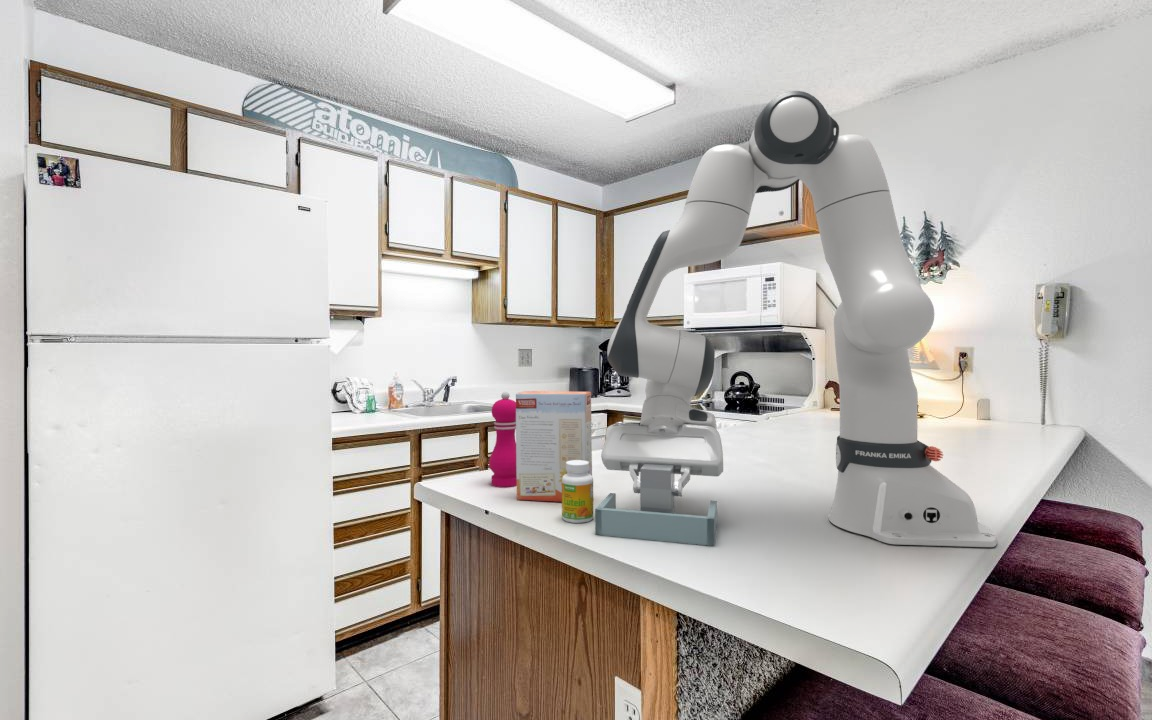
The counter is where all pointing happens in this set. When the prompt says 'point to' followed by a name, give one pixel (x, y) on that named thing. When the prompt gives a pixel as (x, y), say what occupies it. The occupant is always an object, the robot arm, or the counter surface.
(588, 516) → the supplement bottle
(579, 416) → the cracker box
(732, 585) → the counter surface
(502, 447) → the pepper mill
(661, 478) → the tile stack
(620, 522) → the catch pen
